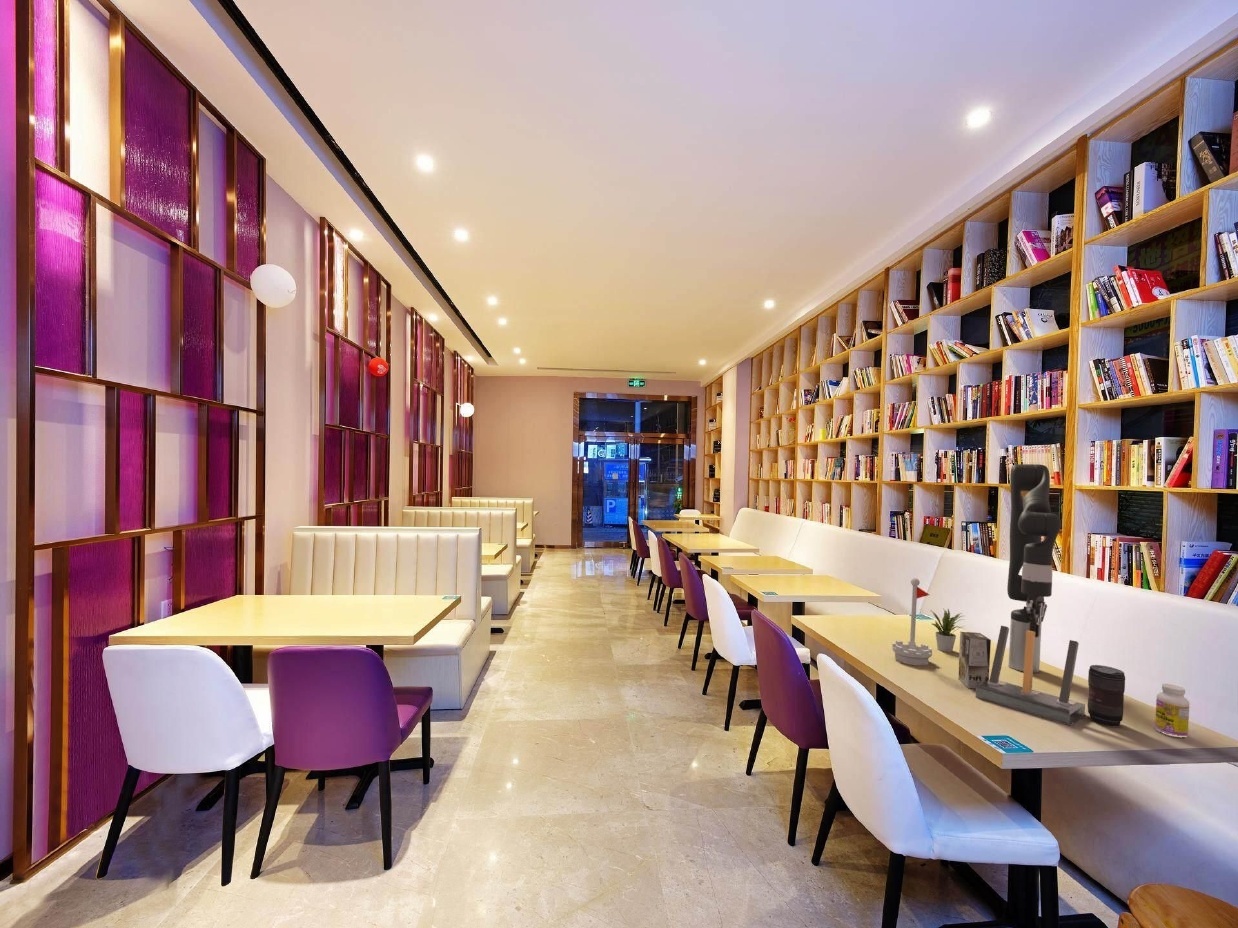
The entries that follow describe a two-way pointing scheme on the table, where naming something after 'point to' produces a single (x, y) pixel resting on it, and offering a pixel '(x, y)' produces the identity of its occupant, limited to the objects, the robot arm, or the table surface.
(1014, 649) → the robot arm
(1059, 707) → the breaker panel
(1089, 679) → the camera lens
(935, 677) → the table surface
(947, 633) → the house plant
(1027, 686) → the lever mid
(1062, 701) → the lever high
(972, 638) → the coffee box
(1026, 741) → the table surface
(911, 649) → the flag stand
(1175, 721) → the supplement bottle
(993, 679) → the lever low
